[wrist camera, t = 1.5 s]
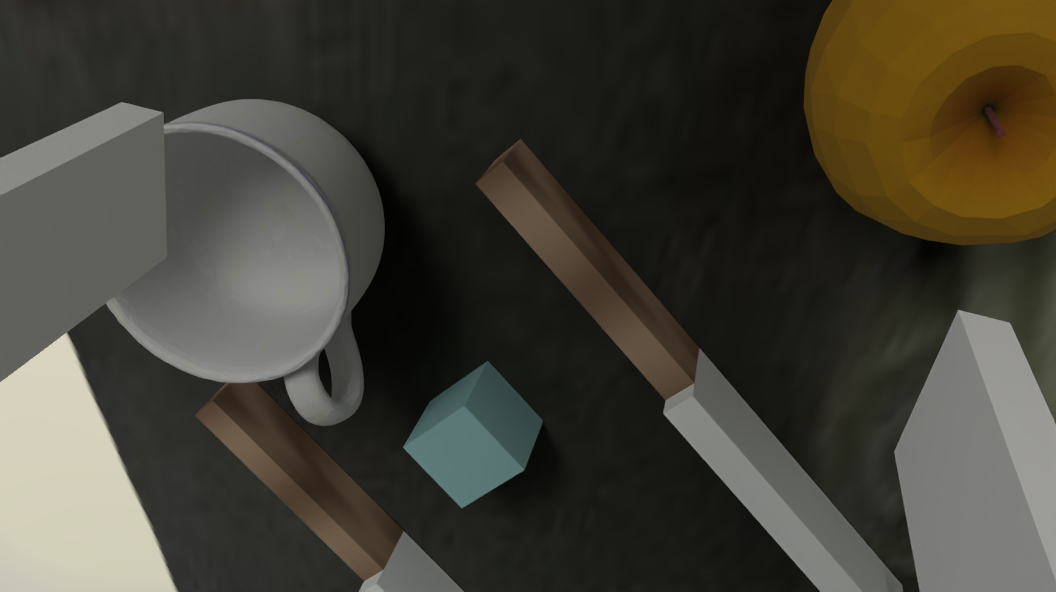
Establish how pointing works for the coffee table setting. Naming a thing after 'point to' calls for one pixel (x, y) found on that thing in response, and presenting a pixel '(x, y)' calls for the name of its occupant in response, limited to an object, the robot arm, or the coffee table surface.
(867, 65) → the apple
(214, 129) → the teacup
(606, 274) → the slot rails
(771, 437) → the grey u-shaped frame
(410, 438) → the block
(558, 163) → the coffee table surface
